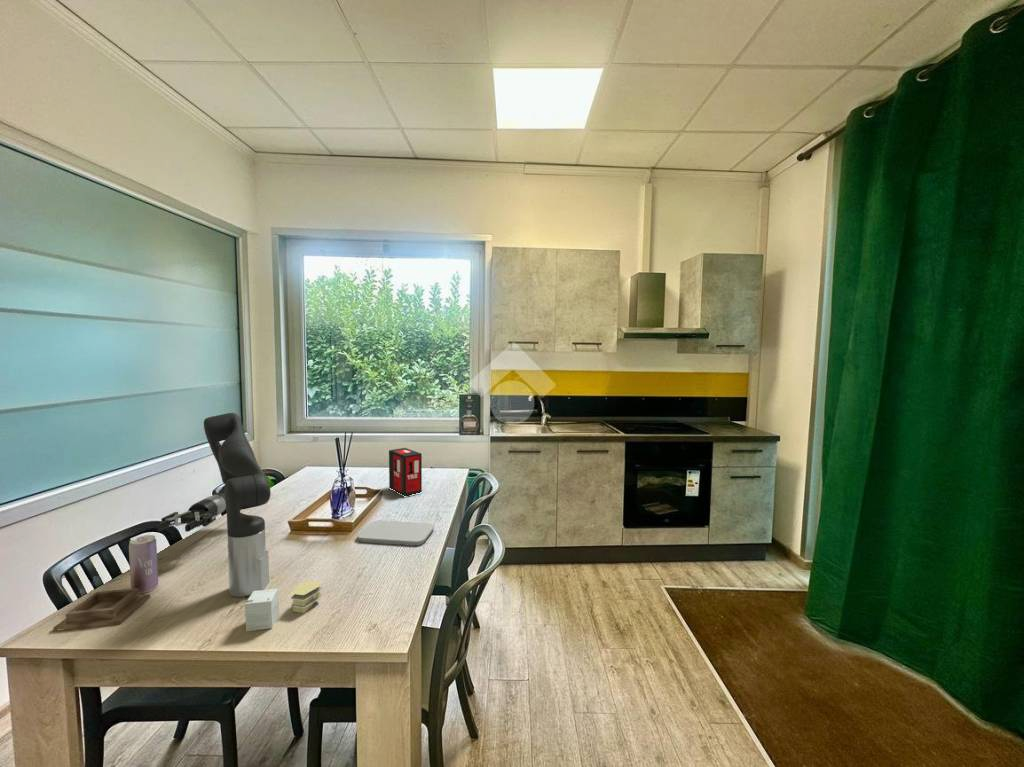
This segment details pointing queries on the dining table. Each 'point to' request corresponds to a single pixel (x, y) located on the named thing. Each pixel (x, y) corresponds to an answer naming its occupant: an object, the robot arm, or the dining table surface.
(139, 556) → the beverage can
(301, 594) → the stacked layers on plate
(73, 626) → the can holder
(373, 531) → the tablet
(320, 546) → the dining table surface
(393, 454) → the cleaning product box
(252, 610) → the skincare box
